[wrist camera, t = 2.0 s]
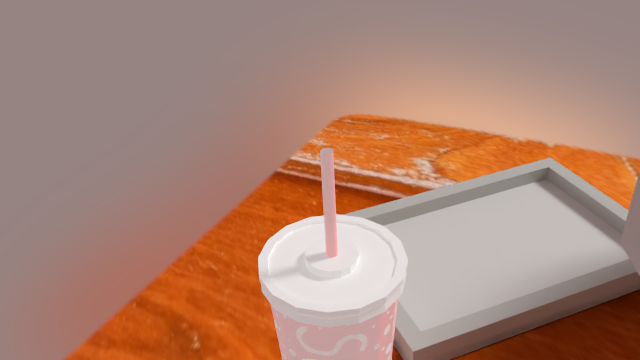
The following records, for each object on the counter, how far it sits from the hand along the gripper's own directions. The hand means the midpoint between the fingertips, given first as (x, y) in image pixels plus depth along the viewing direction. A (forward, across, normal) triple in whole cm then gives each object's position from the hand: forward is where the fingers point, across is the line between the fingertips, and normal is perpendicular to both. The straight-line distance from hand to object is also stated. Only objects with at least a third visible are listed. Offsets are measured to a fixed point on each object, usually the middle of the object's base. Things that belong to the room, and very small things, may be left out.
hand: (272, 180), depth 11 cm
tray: (+21, +10, -19) cm, 30 cm away
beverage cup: (+10, 0, -19) cm, 22 cm away
